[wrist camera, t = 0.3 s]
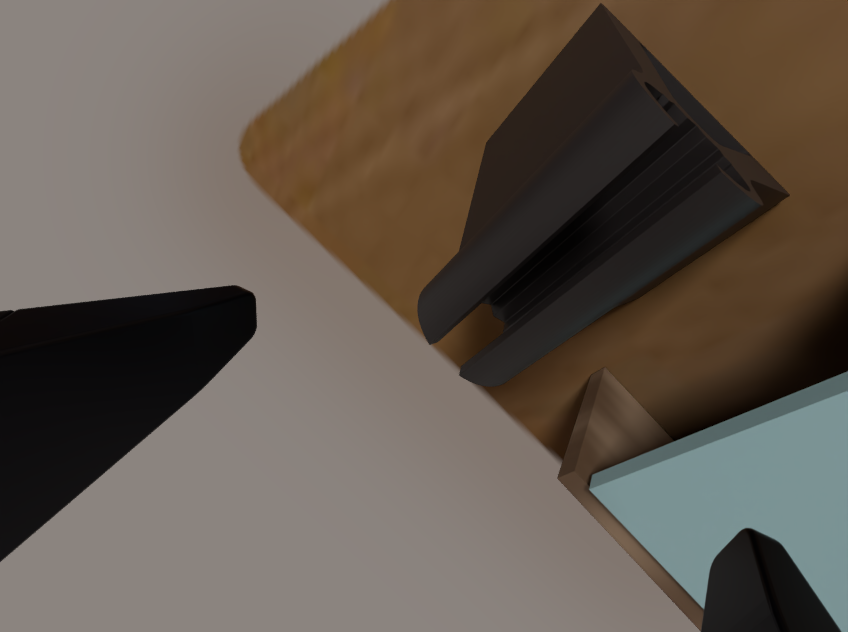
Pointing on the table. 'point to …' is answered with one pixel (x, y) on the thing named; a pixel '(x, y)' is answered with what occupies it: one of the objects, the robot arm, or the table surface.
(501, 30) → the table surface
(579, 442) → the trapdoor frame
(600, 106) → the phone stand
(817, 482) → the trapdoor
